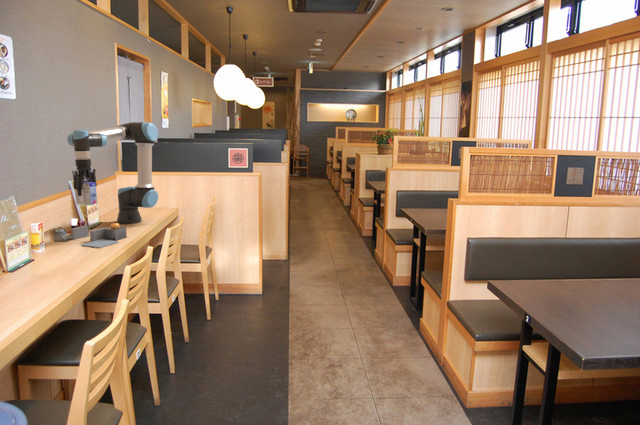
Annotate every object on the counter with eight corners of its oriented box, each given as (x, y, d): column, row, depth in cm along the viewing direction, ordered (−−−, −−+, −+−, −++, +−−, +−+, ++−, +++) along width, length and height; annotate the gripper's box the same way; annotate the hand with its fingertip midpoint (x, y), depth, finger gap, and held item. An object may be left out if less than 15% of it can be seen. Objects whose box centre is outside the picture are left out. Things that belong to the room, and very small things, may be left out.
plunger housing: (115, 236, 269) (115, 226, 268) (126, 237, 266) (126, 227, 265) (104, 239, 262) (104, 228, 261) (115, 240, 259) (115, 230, 258)
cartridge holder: (86, 235, 271) (85, 225, 270) (107, 238, 265) (106, 227, 264) (71, 239, 261) (70, 228, 260) (93, 242, 256) (92, 231, 255)
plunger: (115, 234, 266) (114, 222, 265) (121, 234, 265) (120, 223, 264) (109, 235, 262) (108, 224, 261) (115, 236, 261) (114, 225, 260)
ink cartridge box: (98, 203, 261) (95, 177, 258) (91, 205, 256) (88, 179, 253) (82, 202, 263) (80, 177, 260) (75, 204, 258) (72, 178, 255)
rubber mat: (100, 240, 260) (100, 239, 260) (118, 242, 255) (118, 241, 255) (81, 245, 248) (81, 244, 248) (99, 248, 243) (99, 247, 243)
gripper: (91, 157, 265) (95, 197, 269) (62, 159, 248) (67, 202, 252) (101, 157, 262) (105, 198, 267) (73, 160, 245) (77, 203, 249)
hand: (86, 200), depth 259 cm, fingers closed on ink cartridge box, 6 cm apart
